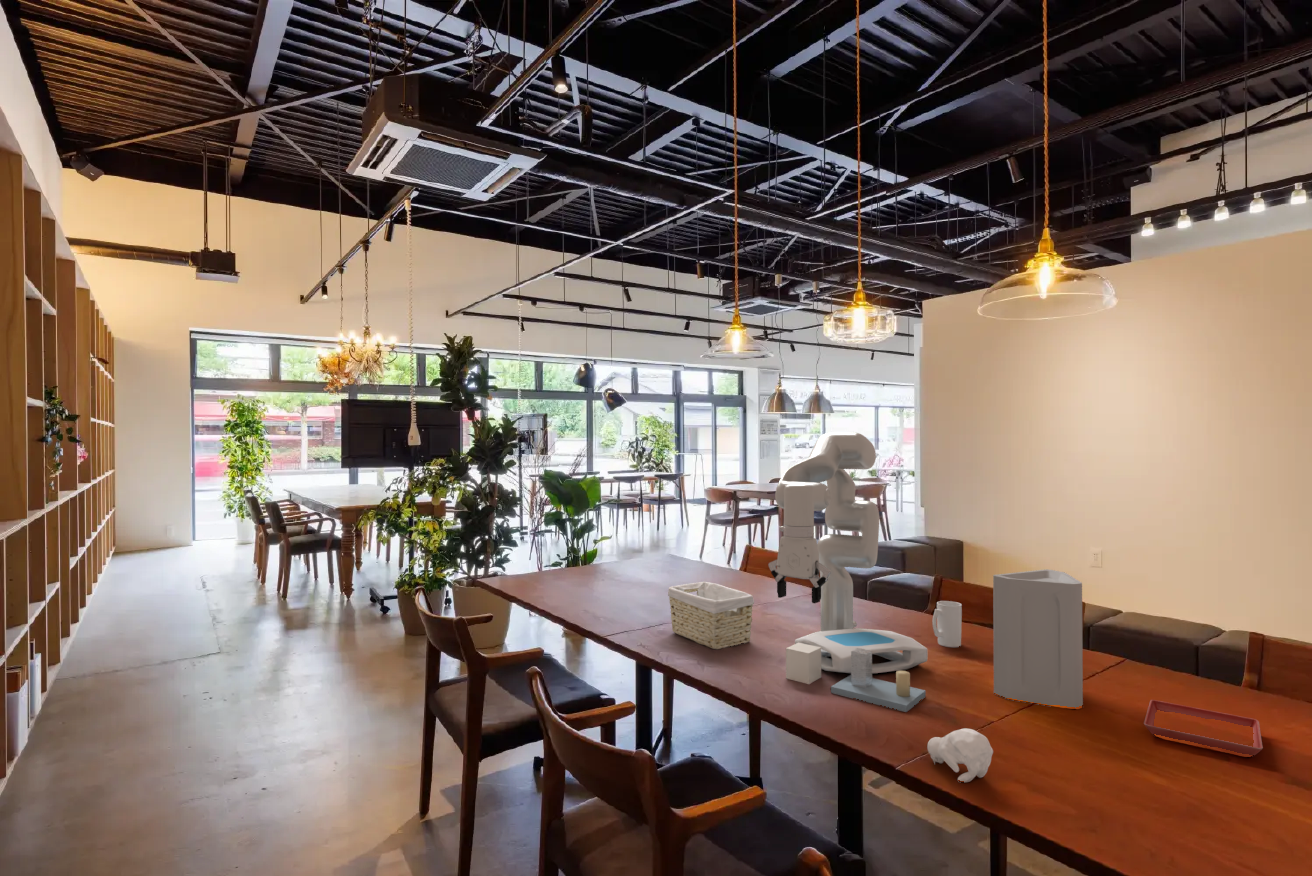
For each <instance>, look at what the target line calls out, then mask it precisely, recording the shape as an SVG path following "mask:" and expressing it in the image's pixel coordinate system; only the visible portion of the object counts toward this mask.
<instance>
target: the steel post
mask: <svg viewBox="0 0 1312 876" xmlns="http://www.w3.org/2000/svg"><path fill="white" fill-rule="evenodd" d="M872 664H873V654H872V651H870V650H865V649H860V648H857V649H855V650H853V651H851V673H850V675H851V685H854V686H858V687H862V688H867V687H869V686H870V685H872V678H873V674H872Z"/></svg>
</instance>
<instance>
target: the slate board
mask: <svg viewBox="0 0 1312 876" xmlns="http://www.w3.org/2000/svg"><path fill="white" fill-rule="evenodd" d="M895 678H896V679H895V682H891V681H886V680H883V679H879V678H874V677H872V685H870V686H869V687H867V688H862V687H858V686H854V685H851V674H849V675H847V677H845V678H843V679H841V680H840V681H838V682H836V683H835V684H832V685H831V686H830V693H831V694H834V695H838V696H842V697H846V698H850V699H853V698H856V699H855V700H857V699H859V700H858V701H861V700H863V701H862V702H865V701H866V702H865V703H868V704H872V703H873V704H874V705H876V706H880V705H882V706H881V707H884V706H886V707H885V708H888V707H889V709H892V708H894V709H893V710H896V709H897V710H896V711H900V712H905V713H907V712H908V711H911V709H912V708H914V707H915V706H916V705H917V704H918V703H920V702H921V701H922V700H924V698H926V697H927V695H926V694H927V693H926V690H925V689H921V688H917V687H913V686H911V673H910V672H909V671H906V670H897V671H896V672H895ZM921 699H922V700H921ZM920 700H921V701H920ZM919 701H920V702H919ZM914 705H915V706H914Z"/></svg>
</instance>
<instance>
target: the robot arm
mask: <svg viewBox="0 0 1312 876" xmlns="http://www.w3.org/2000/svg"><path fill="white" fill-rule="evenodd" d="M876 453H877V452H876V448H875V446H874V444H873V443H872V442H871V440H870V439H868V437H866V436H865V435H863V434H861V433H859V432H827V433H823V434H821V435H819V437H818V438H817V440H816V441H815V443H814V445H813V448H812V450H811V452H810V453H809V456H808V457H807V458H806V459H804V460H802V461H800V462H798V463H796V464H794V465H793V466H791V467H789V468H788V469H786V470H785V471H784V472H783V474H782V476H781V478H780V479H779V482H778V483H777V485H776V486H777V487H776V489H775V494H774V499H775V503H776V504H777V506H778V507H779V508H781V509H782V510H783V525H782V526H779V531H780V532H782V533H783V536H780V540H779V544H778V551H777V559H774V560H773V561H772V560H771V561H770V562H768V568H769V570H770V571H771V572H770V573H771V575H772V577H773V578H774V580H775V582H776V584H777V585H776V593H777V598H778V599H779V598H784V597H786V596H787V581H786V580H785V579H787V578H793V579H794V578H795V579H801V580H809V581H810V583H811V584H812V585H813V586H812V587H811V603H812V604H817V603H820V630H818V631H817V632H821V631H832V630H842V629H853V628H855V627H856V628H857V625H858V623H857V622H856V621H855V620H854V583H853V578H852V577H851V574H850V573H849V571H848V570H847V569H846V568H853V569H854V568H855V569H872V568H874V567H875V566H876V564H877V561H878V550H879V537H880V536H879V533H880V532H879V531H880V512H879V508H878V506H877V504H876V503H875V502H873V501H871V500H859V499H856V489H857V488H856V483H855V482H854V480H853V478H852V477H851V475H850V474H849V473H848V472H847V470H870V469H871V468H873V466H874V465H875V463H876V459H877V454H876ZM823 482H826V484H825V483H823ZM823 510H825V512H824V513H825V514H824V520H825V521H824V522H825V524H826V526H827V528H828V529H830V530H833V531H842V532H858V533H861V535H850V534H842V533H841V534H840V533H839V534H837V533H831V534H830V533H829V534H824V535H822V536H821V537H820V538H819V539H818V540H817V538H815V535H814V534H815V512H819V511H823Z"/></svg>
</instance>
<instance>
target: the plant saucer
mask: <svg viewBox="0 0 1312 876" xmlns="http://www.w3.org/2000/svg"><path fill="white" fill-rule="evenodd" d="M1157 710H1160V711H1164V712H1175V713H1181V714H1186V715H1191V716H1196V717H1201V718H1205V719H1215V720H1221V721H1226V722H1230V723H1234V724H1238V725H1243V726H1250V727H1252V728H1253V733H1254V734H1253V740H1254V743H1253V747H1252V746H1248V745H1243V744H1238V743H1234V742H1229V741H1224V740H1219V739H1214V738H1209V737H1205V736H1200V735H1195V734H1190V733H1185V732H1180V731H1175V730H1170V729H1166V728H1161V727H1156V726H1154V719H1155V713H1156V712H1157ZM1143 724H1144V727H1146V729H1147V730H1148V731H1149V732H1150V733H1151V735H1153V734H1156V735H1161V736H1165V737H1169V738H1173V739H1178V740H1185V741H1190V742H1194V743H1198V744H1202V745H1207V746H1210V747H1218V748H1222V749H1226V750H1230V751H1234V752H1237V753H1242V754H1249V755H1254V756H1256V755H1257V754H1259V753H1260V752H1261V751H1262V750H1263V749H1264V747H1263V742H1262V735H1261V728H1260V727H1261V725H1260V721H1259V720H1258V719H1256V718H1251V717H1245V716H1240V715H1235V714H1230V713H1224V712H1219V711H1214V710H1209V709H1203V708H1198V707H1193V706H1187V705H1184V704H1183V705H1182V704H1178V703H1173V702H1172V703H1171V702H1168V701H1161V700H1156V699H1150V701H1149V705H1148V707H1147V711H1146V715H1145V718H1144V721H1143Z"/></svg>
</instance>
